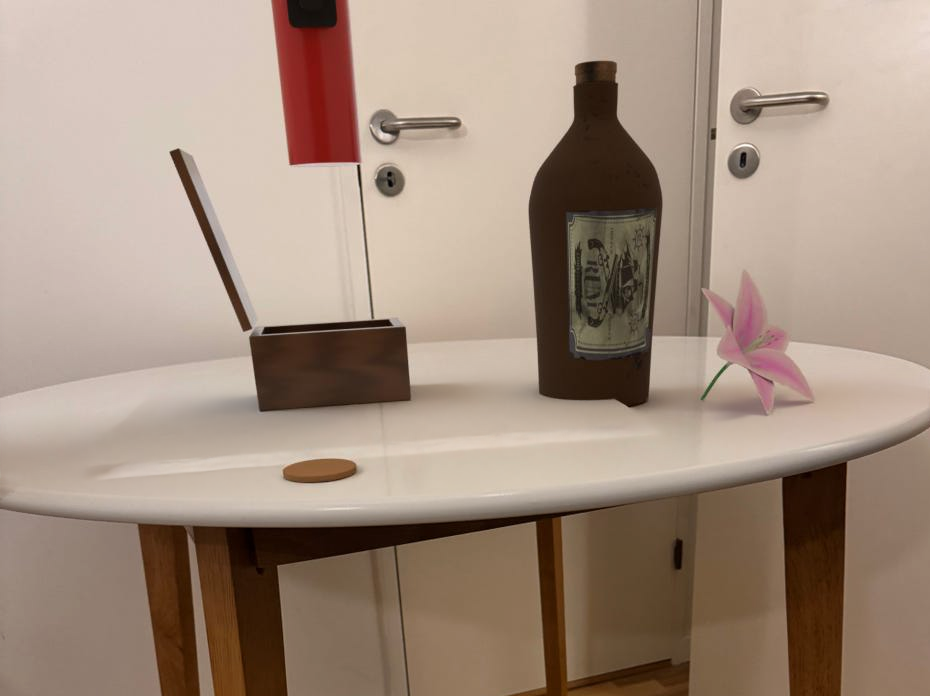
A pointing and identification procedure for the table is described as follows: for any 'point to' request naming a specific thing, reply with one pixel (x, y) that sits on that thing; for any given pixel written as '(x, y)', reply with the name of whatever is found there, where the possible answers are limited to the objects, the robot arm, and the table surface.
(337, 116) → the can
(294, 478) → the pad
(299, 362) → the dark wooden box
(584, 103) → the brown liquor bottle
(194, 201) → the lid
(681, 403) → the table surface
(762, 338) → the lily
